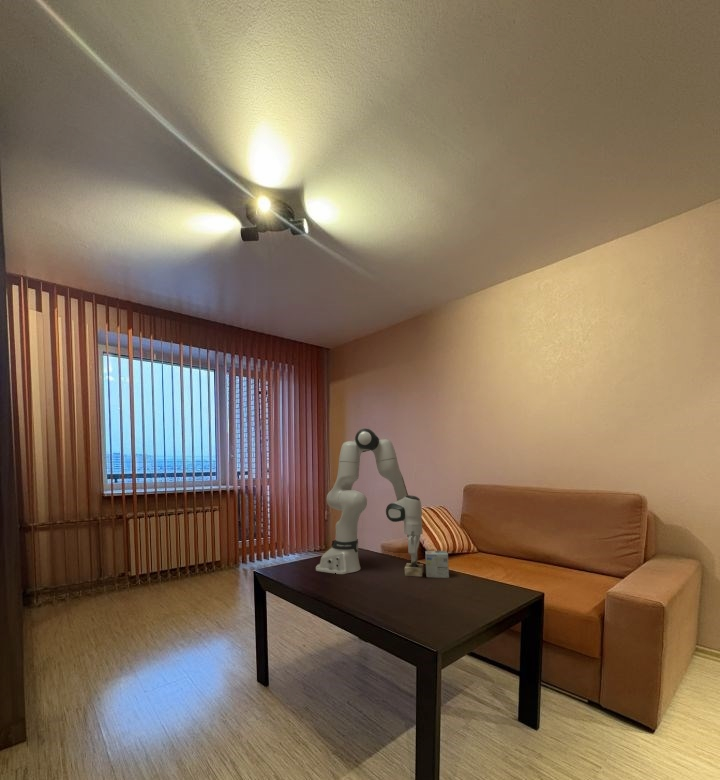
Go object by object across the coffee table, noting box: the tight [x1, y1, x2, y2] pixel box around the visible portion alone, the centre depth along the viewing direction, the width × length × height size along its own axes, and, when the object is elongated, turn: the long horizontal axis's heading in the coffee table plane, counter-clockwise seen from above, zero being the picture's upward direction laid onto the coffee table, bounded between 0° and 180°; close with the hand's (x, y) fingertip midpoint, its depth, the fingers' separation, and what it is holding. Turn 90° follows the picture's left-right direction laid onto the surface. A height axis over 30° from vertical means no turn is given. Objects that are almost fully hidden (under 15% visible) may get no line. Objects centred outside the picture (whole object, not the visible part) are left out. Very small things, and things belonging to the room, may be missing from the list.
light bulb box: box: [424, 550, 450, 579], centre depth 192 cm, size 11×7×11 cm, turn 84°
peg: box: [410, 551, 418, 567], centre depth 196 cm, size 3×3×9 cm
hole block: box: [404, 562, 424, 577], centre depth 195 cm, size 8×8×4 cm
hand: (414, 559), depth 196 cm, fingers closed on peg, 3 cm apart
